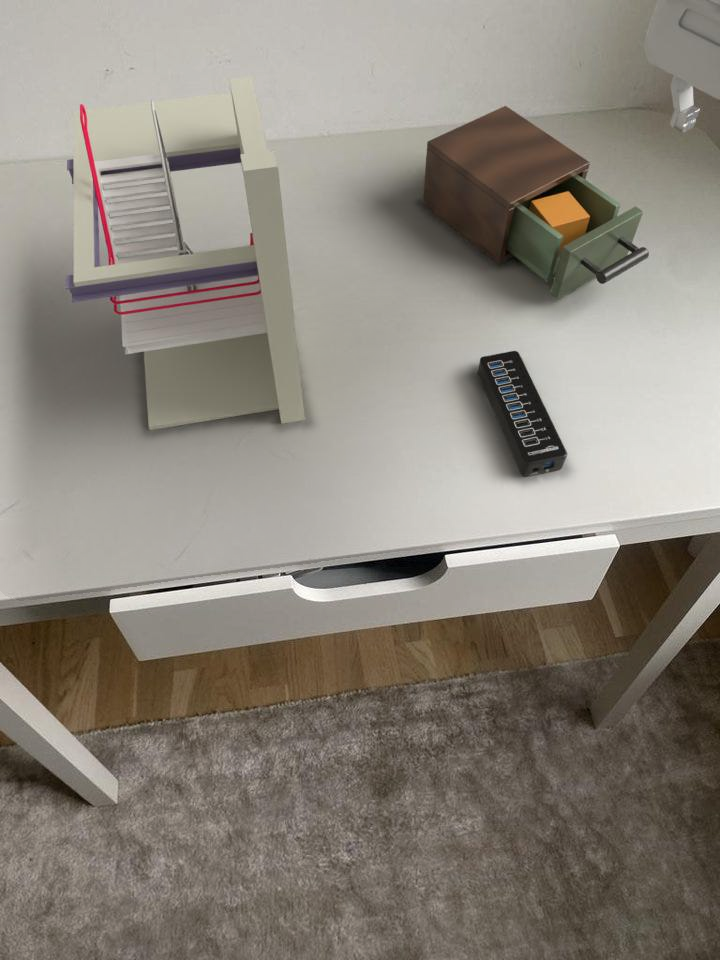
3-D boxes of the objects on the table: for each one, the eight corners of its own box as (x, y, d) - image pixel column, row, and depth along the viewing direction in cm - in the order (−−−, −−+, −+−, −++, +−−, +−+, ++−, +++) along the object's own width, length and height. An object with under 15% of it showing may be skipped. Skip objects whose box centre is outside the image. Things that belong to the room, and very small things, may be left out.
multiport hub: (514, 363, 84) (517, 349, 82) (563, 468, 77) (569, 455, 75) (476, 371, 84) (478, 356, 82) (522, 477, 76) (526, 464, 74)
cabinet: (573, 223, 97) (590, 162, 90) (498, 264, 93) (510, 203, 86) (495, 167, 104) (505, 105, 96) (422, 203, 100) (427, 141, 92)
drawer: (650, 277, 90) (670, 229, 85) (581, 319, 87) (596, 272, 81) (547, 201, 98) (558, 153, 92) (479, 237, 94) (487, 189, 89)
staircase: (121, 269, 93) (30, 7, 68) (269, 248, 95) (234, -14, 70) (129, 448, 78) (18, 199, 53) (304, 419, 80) (277, 166, 55)
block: (559, 225, 94) (568, 190, 90) (580, 251, 91) (590, 216, 87) (523, 235, 93) (530, 200, 89) (543, 261, 90) (551, 226, 86)
